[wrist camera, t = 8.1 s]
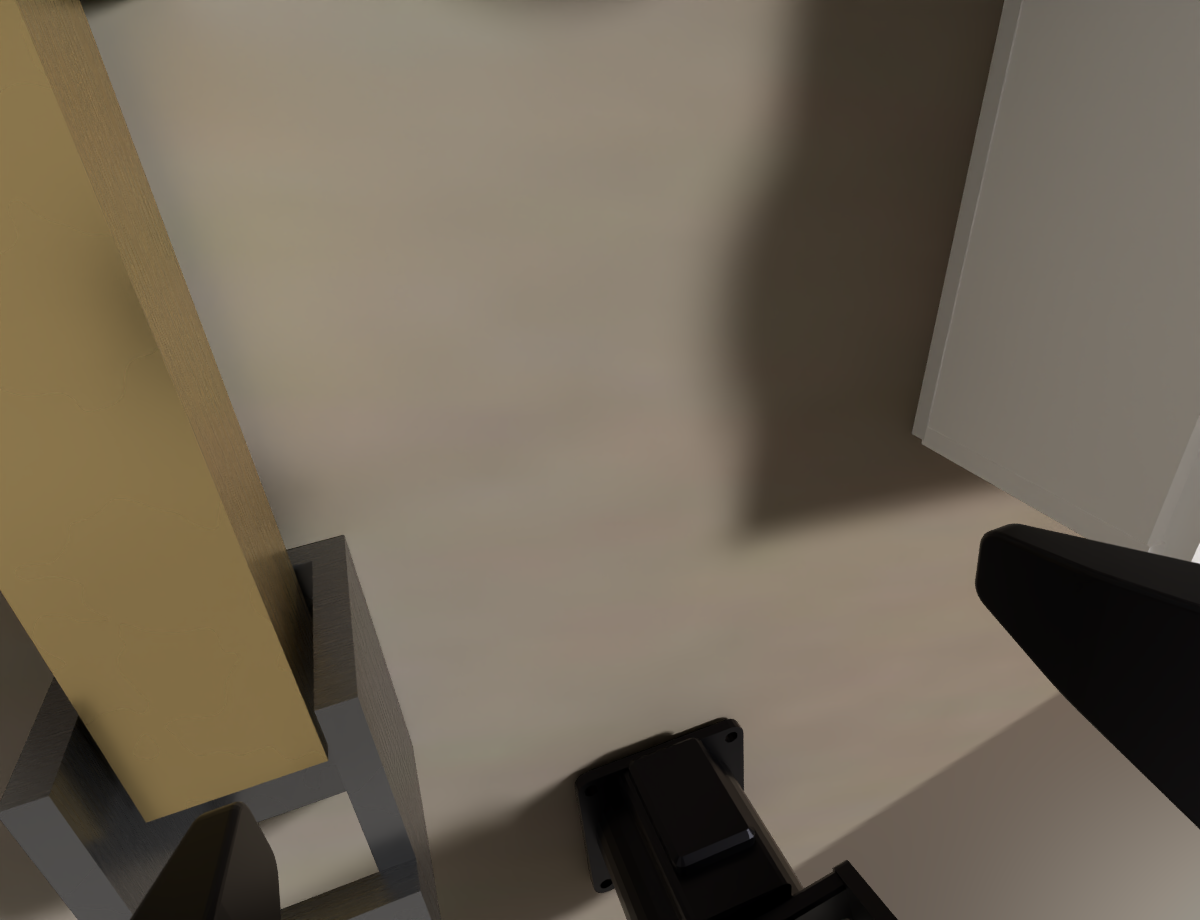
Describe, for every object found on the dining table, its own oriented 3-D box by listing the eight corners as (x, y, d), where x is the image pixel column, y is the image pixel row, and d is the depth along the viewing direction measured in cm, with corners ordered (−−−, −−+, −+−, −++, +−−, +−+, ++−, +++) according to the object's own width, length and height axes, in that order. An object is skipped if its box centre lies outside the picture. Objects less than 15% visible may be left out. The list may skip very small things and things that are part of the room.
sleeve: (412, 746, 23) (448, 966, 17) (206, 817, 21) (168, 1085, 15) (344, 535, 19) (360, 727, 13) (86, 603, 17) (-24, 854, 12)
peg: (324, 653, 19) (328, 760, 16) (173, 698, 18) (145, 822, 15) (-38, -311, 10) (-184, -483, 7) (-367, -318, 9) (-693, -516, 6)
